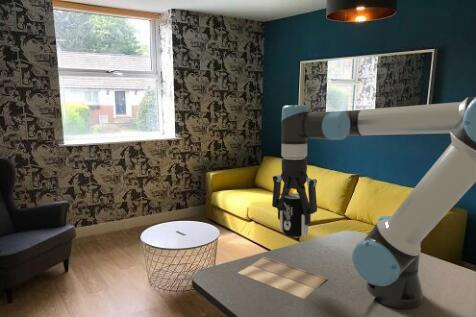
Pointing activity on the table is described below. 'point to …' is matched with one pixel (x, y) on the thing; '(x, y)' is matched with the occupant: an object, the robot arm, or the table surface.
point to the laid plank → (277, 281)
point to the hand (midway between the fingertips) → (293, 232)
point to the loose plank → (290, 272)
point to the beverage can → (292, 215)
